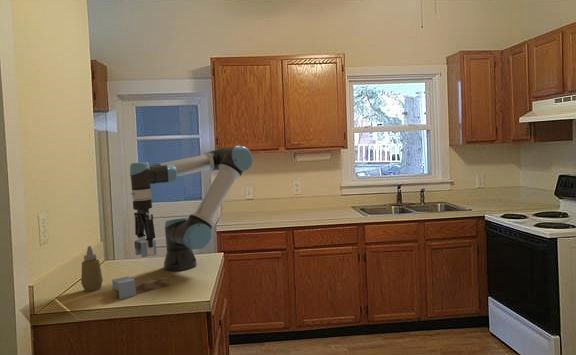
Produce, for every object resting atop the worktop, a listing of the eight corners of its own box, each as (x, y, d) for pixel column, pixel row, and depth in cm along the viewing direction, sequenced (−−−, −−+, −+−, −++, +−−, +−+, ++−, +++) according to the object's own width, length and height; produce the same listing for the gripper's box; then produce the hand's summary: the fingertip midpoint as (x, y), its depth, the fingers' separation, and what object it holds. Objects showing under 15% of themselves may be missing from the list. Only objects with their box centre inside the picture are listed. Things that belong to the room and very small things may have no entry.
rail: (167, 284, 188) (166, 276, 188) (170, 286, 186) (169, 277, 186) (112, 298, 174) (112, 289, 174) (115, 299, 172) (114, 290, 171)
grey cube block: (149, 252, 197) (148, 238, 196) (156, 254, 191) (155, 240, 191) (133, 255, 192) (132, 240, 192) (140, 257, 187) (139, 243, 186)
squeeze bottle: (80, 294, 181) (76, 249, 180) (83, 288, 189) (80, 245, 188) (102, 291, 183) (98, 247, 182) (104, 286, 191) (101, 243, 190)
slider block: (120, 299, 171) (119, 283, 170) (113, 295, 176) (112, 279, 176) (137, 294, 175) (136, 279, 175) (130, 290, 181) (129, 275, 180)
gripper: (124, 199, 196) (128, 252, 198) (143, 201, 180) (147, 259, 182) (141, 197, 201) (145, 248, 202) (161, 199, 185) (165, 255, 187)
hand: (146, 253), depth 192 cm, fingers closed on grey cube block, 7 cm apart
